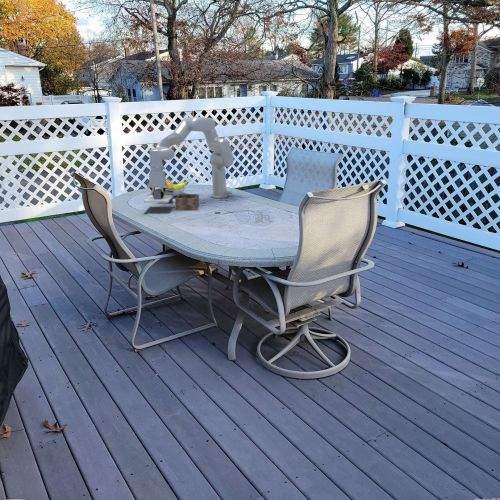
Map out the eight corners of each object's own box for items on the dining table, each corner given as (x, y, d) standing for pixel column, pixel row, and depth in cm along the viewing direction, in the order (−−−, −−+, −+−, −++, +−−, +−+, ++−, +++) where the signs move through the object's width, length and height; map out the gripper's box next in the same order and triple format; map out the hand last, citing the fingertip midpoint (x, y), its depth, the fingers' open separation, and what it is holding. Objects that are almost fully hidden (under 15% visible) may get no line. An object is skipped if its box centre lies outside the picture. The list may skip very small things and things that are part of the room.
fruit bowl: (142, 198, 341) (141, 182, 337) (160, 190, 365) (158, 175, 362) (178, 201, 333) (177, 185, 329) (194, 192, 358) (193, 177, 354)
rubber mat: (174, 207, 316) (174, 206, 316) (169, 214, 301) (169, 213, 300) (150, 207, 317) (150, 206, 316) (144, 214, 302) (144, 212, 301)
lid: (172, 197, 313) (172, 187, 311) (167, 202, 299) (167, 192, 297) (149, 197, 313) (149, 187, 311) (144, 202, 299) (143, 192, 297)
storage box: (199, 205, 320) (198, 194, 318) (196, 210, 308) (195, 198, 305) (179, 205, 321) (179, 194, 318) (176, 210, 309) (175, 198, 306)
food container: (176, 202, 331) (175, 187, 327) (174, 204, 325) (173, 189, 322) (159, 201, 332) (157, 187, 329) (156, 203, 326) (155, 189, 323)
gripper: (171, 168, 303) (172, 196, 309) (144, 167, 304) (147, 196, 310) (168, 170, 296) (170, 199, 302) (141, 169, 296) (144, 199, 303)
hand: (158, 197), depth 306 cm, fingers closed on lid, 4 cm apart
